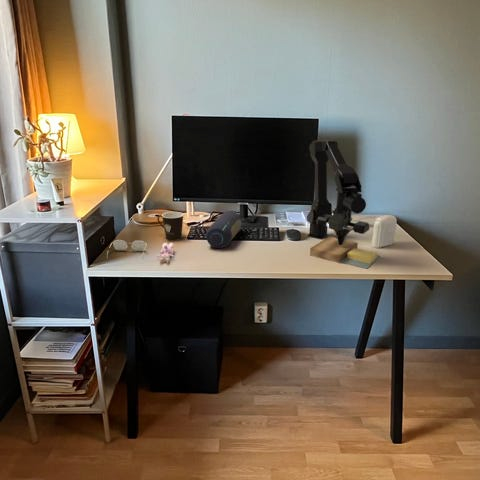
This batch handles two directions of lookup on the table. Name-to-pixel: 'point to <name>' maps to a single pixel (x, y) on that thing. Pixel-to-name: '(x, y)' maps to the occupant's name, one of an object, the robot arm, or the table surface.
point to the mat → (359, 262)
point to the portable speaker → (224, 229)
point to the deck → (332, 249)
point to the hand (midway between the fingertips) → (340, 244)
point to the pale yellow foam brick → (361, 255)
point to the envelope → (364, 219)
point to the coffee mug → (172, 225)
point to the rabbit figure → (166, 253)
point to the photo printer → (384, 231)
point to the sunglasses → (136, 245)
